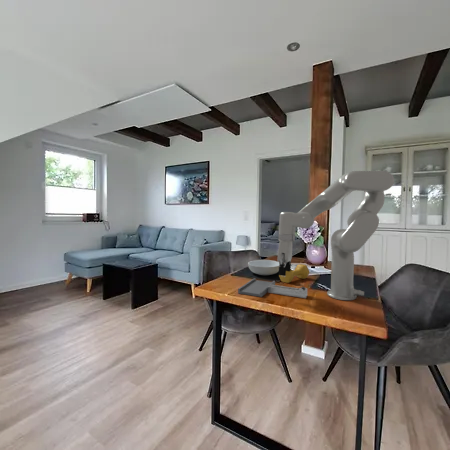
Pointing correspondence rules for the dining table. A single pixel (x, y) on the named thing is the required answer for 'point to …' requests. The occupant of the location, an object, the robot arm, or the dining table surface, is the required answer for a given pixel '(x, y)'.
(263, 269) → the serving bowl
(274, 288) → the grey grooved bar
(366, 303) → the dining table surface
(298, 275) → the dumbbell
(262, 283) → the rest tray
